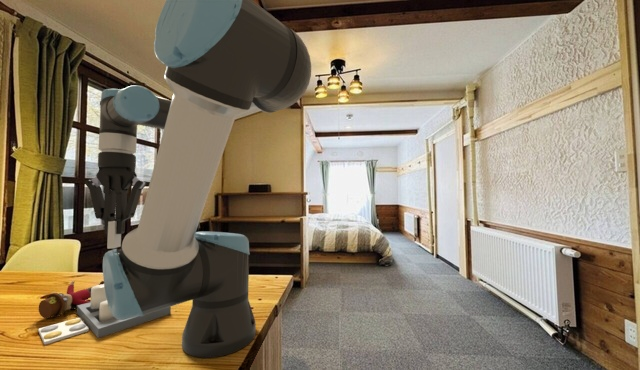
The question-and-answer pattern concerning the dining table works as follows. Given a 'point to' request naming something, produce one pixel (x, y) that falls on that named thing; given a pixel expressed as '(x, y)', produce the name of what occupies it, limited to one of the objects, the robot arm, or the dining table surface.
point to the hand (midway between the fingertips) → (114, 247)
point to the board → (113, 320)
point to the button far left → (97, 296)
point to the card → (62, 330)
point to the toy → (64, 301)
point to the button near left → (104, 312)
